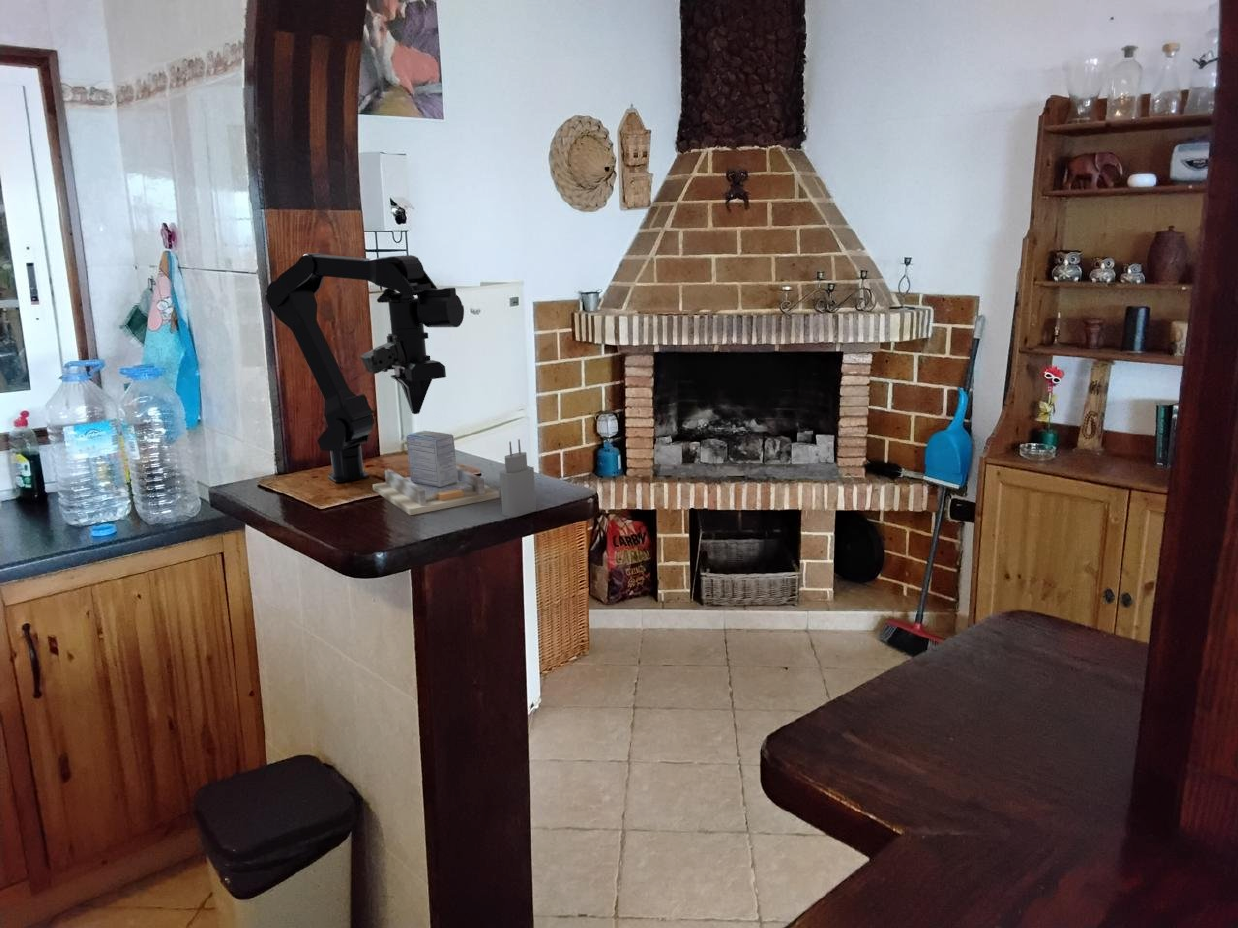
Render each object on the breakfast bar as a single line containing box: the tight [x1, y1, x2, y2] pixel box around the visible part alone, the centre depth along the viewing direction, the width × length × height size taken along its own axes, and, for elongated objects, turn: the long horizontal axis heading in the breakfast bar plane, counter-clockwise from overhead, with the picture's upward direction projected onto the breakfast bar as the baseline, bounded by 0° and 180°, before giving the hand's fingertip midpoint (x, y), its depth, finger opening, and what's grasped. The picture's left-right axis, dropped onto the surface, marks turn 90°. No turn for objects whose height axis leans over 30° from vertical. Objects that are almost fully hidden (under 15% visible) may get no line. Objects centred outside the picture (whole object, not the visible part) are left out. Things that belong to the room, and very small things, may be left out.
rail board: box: [372, 465, 501, 516], centre depth 163 cm, size 20×16×4 cm
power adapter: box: [499, 439, 537, 518], centre depth 149 cm, size 3×5×12 cm, turn 136°
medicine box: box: [405, 430, 458, 487], centre depth 162 cm, size 8×4×9 cm, turn 52°
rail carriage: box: [404, 476, 473, 501], centre depth 163 cm, size 16×9×1 cm, turn 32°
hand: (415, 413), depth 168 cm, fingers closed
